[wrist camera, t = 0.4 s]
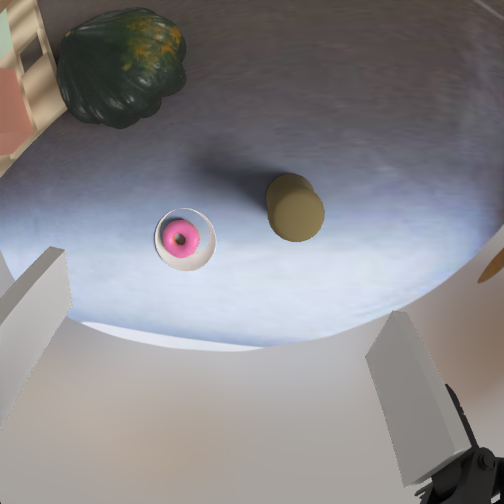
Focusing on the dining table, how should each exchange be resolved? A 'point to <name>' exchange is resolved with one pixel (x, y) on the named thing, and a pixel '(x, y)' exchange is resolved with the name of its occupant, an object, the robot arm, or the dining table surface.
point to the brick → (12, 114)
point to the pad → (4, 34)
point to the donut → (184, 245)
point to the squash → (120, 66)
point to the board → (31, 70)
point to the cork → (294, 208)
